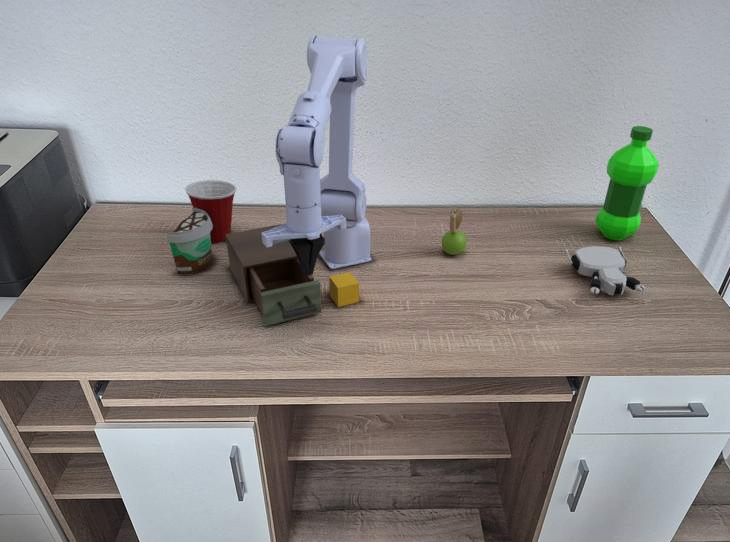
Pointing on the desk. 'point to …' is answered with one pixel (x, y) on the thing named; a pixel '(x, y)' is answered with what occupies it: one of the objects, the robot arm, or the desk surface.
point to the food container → (192, 243)
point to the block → (344, 289)
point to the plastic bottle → (627, 186)
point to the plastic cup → (214, 204)
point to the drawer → (283, 291)
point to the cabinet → (253, 254)
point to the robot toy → (604, 269)
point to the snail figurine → (454, 235)
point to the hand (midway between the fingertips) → (307, 272)
